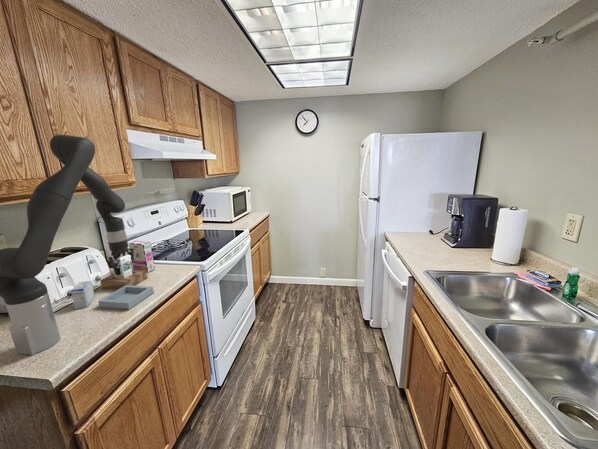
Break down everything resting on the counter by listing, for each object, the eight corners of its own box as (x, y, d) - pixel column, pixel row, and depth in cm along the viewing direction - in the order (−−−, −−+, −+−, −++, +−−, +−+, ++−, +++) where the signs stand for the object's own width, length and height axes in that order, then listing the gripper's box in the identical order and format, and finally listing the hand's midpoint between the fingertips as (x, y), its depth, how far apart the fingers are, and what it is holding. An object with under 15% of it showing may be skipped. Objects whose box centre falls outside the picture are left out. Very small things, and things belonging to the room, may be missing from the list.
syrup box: (126, 286, 122) (120, 258, 119) (115, 285, 123) (110, 257, 120) (135, 281, 128) (130, 254, 124) (125, 280, 129) (120, 253, 125)
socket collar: (126, 290, 118) (125, 281, 117) (102, 289, 120) (100, 280, 119) (147, 278, 131) (146, 270, 130) (124, 276, 133) (123, 268, 132)
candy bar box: (155, 269, 142) (151, 241, 138) (147, 273, 137) (143, 244, 133) (140, 267, 145) (136, 240, 142) (132, 270, 141) (127, 242, 137)
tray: (129, 309, 102) (128, 303, 101) (99, 307, 104) (98, 301, 104) (153, 292, 116) (152, 286, 115) (126, 291, 118) (125, 285, 117)
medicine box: (83, 300, 110) (78, 282, 108) (95, 298, 112) (91, 280, 110) (75, 309, 103) (70, 290, 101) (88, 307, 105) (83, 288, 103)
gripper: (111, 244, 113) (118, 279, 117) (136, 235, 127) (141, 266, 131) (96, 243, 114) (104, 278, 118) (122, 235, 128) (128, 266, 132)
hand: (123, 272), depth 124 cm, fingers closed on syrup box, 5 cm apart
